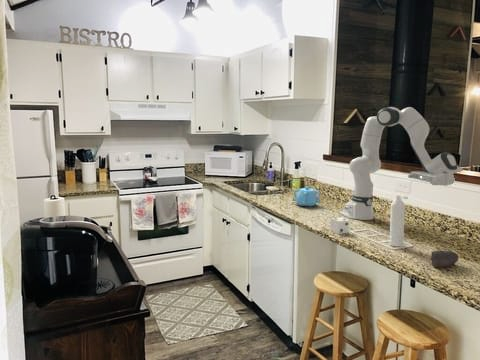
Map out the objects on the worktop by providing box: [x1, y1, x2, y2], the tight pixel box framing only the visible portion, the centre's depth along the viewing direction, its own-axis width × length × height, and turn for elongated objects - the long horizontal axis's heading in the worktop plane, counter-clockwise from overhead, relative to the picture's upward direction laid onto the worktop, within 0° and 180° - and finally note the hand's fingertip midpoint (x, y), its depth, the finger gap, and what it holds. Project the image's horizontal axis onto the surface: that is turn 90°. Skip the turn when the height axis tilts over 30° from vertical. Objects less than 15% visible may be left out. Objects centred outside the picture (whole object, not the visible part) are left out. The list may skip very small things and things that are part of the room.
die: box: [330, 216, 350, 235], centre depth 211 cm, size 7×7×7 cm
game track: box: [349, 228, 415, 251], centre depth 200 cm, size 31×14×1 cm, turn 25°
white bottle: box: [388, 194, 409, 247], centre depth 188 cm, size 9×6×25 cm
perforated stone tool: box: [430, 250, 459, 268], centre depth 164 cm, size 15×5×7 cm, turn 108°
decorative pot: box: [292, 186, 321, 208], centre depth 273 cm, size 16×16×14 cm
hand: (414, 177), depth 201 cm, fingers open, 8 cm apart
